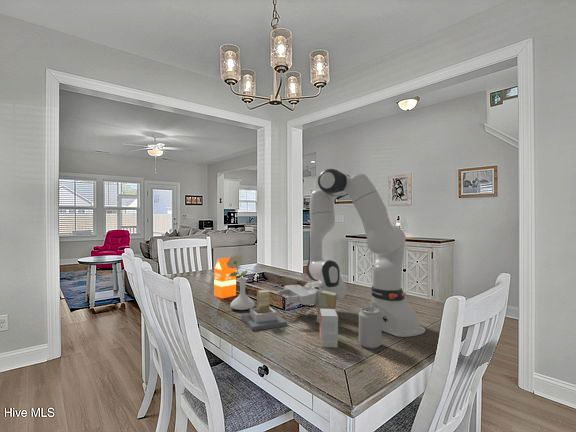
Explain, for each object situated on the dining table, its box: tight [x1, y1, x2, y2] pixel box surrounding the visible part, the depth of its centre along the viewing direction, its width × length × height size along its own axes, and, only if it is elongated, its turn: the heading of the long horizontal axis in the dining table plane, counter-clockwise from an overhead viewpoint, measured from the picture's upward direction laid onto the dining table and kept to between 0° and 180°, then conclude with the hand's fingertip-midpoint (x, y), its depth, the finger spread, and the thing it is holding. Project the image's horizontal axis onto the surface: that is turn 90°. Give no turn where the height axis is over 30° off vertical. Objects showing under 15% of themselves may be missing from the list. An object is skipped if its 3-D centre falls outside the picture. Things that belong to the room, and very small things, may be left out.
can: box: [358, 306, 383, 350], centre depth 105 cm, size 8×8×12 cm
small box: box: [318, 308, 339, 348], centre depth 107 cm, size 8×6×10 cm
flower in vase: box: [227, 254, 256, 311], centre depth 144 cm, size 13×11×25 cm
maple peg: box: [256, 288, 271, 314], centre depth 127 cm, size 4×4×11 cm
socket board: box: [240, 306, 288, 332], centre depth 127 cm, size 16×14×4 cm
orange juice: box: [213, 256, 237, 299], centre depth 166 cm, size 8×9×20 cm
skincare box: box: [315, 290, 337, 324], centre depth 125 cm, size 6×4×12 cm
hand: (282, 295), depth 130 cm, fingers open, 8 cm apart
